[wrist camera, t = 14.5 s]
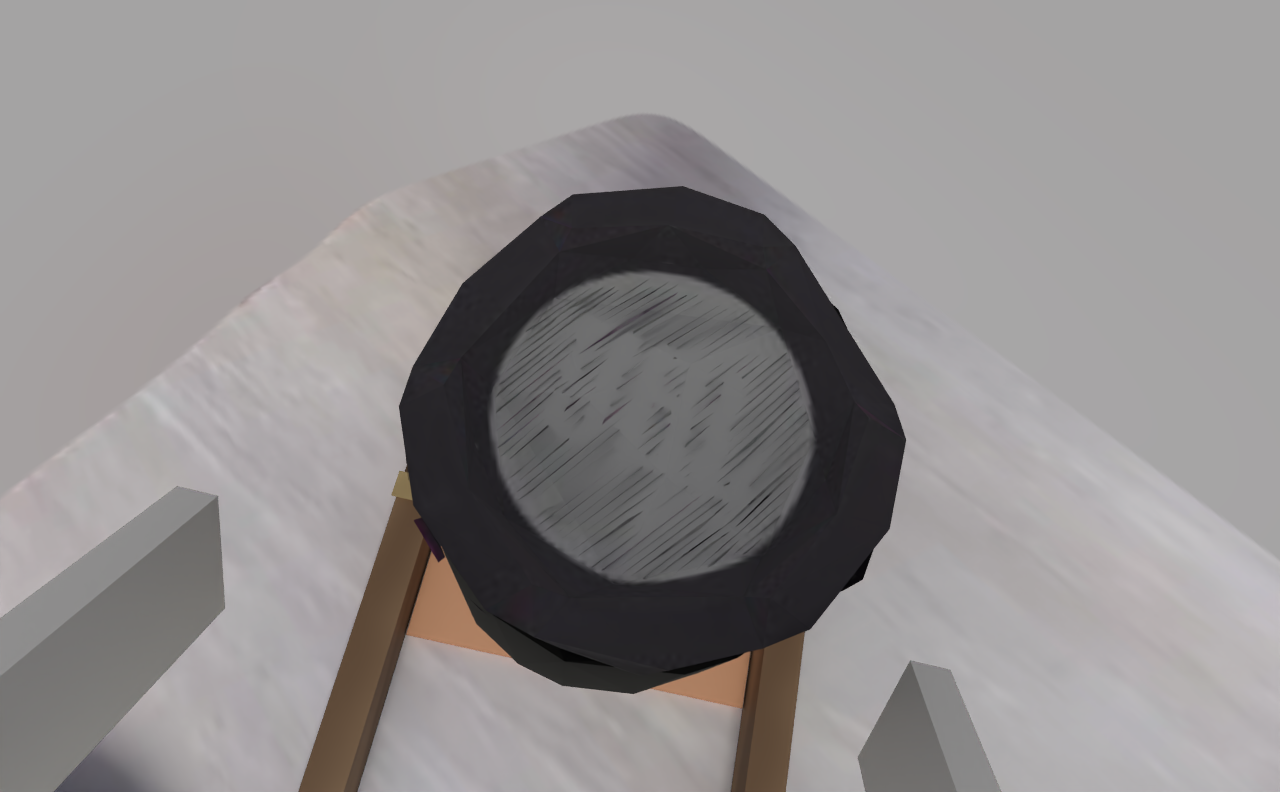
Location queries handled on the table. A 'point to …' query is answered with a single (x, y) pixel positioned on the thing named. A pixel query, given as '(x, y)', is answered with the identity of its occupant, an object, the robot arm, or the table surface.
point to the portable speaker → (647, 441)
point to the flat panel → (452, 623)
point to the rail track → (382, 636)
